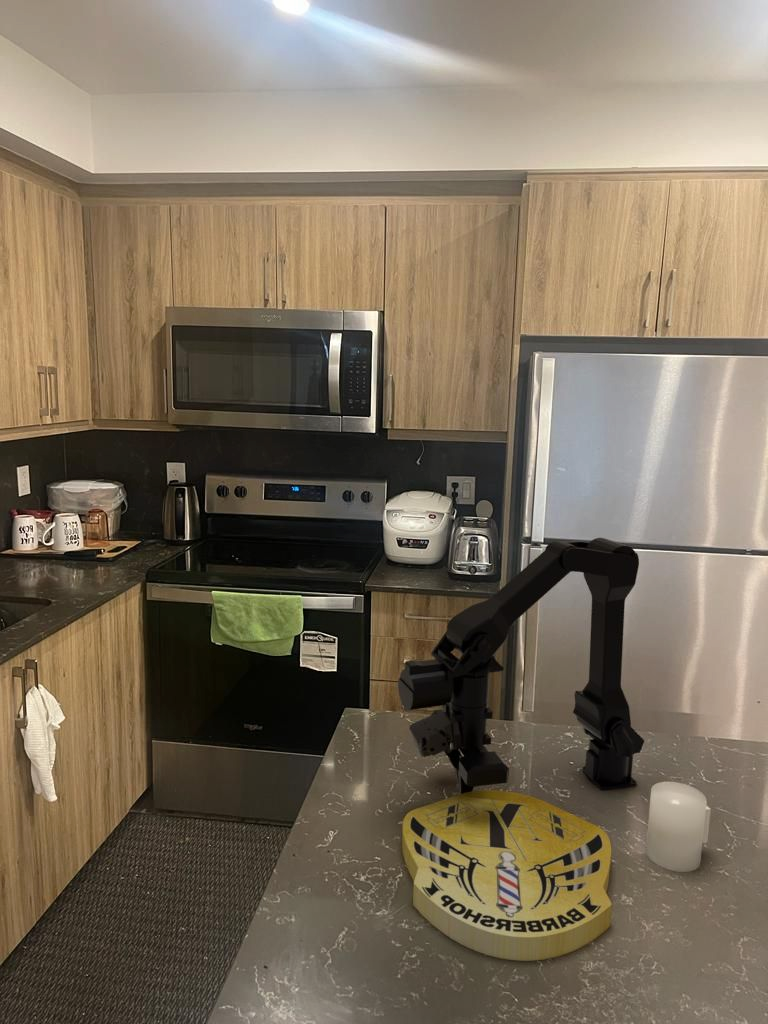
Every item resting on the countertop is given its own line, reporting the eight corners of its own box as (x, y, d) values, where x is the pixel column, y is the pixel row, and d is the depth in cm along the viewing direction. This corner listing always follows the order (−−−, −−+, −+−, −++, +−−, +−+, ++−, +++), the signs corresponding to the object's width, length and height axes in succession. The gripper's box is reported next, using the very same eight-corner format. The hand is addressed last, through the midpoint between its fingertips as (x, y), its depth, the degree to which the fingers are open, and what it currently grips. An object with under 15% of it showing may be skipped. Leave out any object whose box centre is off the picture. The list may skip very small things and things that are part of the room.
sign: (384, 921, 85) (410, 782, 114) (383, 947, 85) (409, 802, 115) (639, 950, 81) (598, 799, 110) (637, 977, 82) (596, 819, 111)
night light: (685, 836, 107) (691, 778, 105) (718, 867, 100) (724, 805, 99) (635, 843, 105) (640, 784, 103) (665, 875, 98) (671, 813, 97)
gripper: (399, 678, 117) (397, 770, 120) (435, 734, 99) (431, 840, 102) (467, 673, 120) (462, 763, 123) (513, 727, 102) (507, 830, 105)
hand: (464, 796), depth 113 cm, fingers closed
